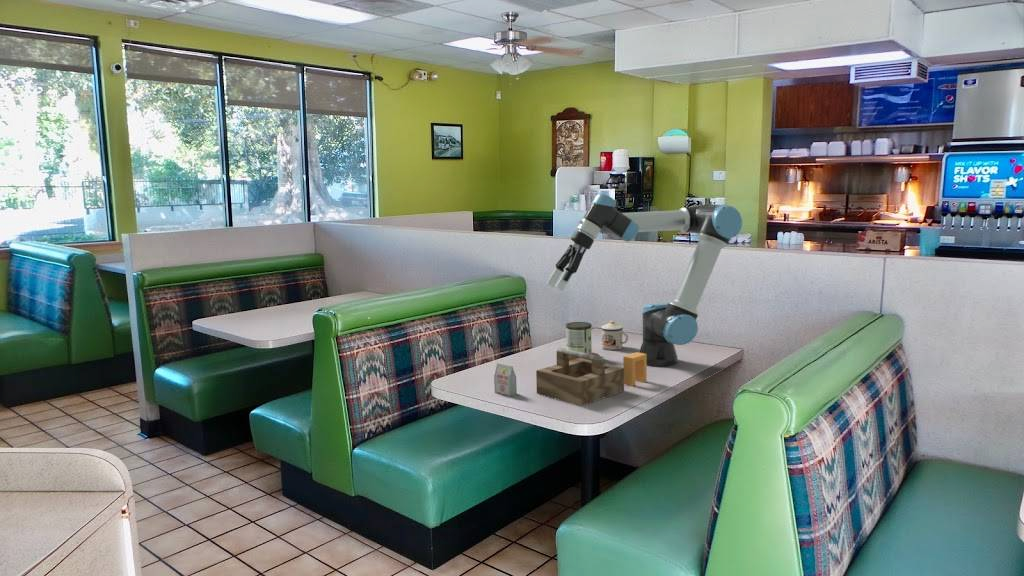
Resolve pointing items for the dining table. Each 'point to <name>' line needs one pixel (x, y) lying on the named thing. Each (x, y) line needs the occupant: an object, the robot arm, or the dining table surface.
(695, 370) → the dining table surface
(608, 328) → the teacup with lid
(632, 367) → the orange u-shaped bracket
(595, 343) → the dining table surface
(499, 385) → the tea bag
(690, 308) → the robot arm
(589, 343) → the coffee can
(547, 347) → the dining table surface
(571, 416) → the dining table surface
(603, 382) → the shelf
